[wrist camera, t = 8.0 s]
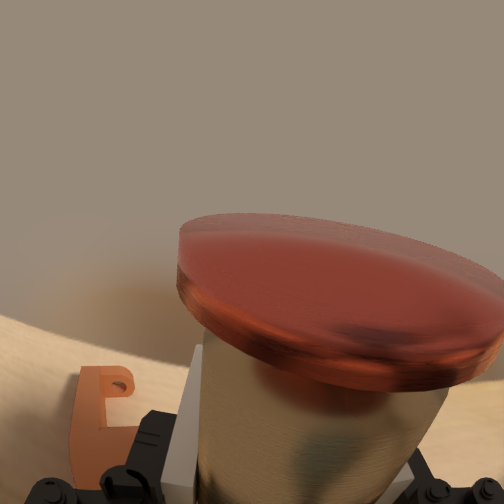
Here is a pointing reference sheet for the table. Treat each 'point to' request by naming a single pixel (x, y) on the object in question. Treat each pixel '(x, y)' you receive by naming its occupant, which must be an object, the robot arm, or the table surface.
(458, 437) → the table surface
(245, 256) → the valve
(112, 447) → the orange holed part
